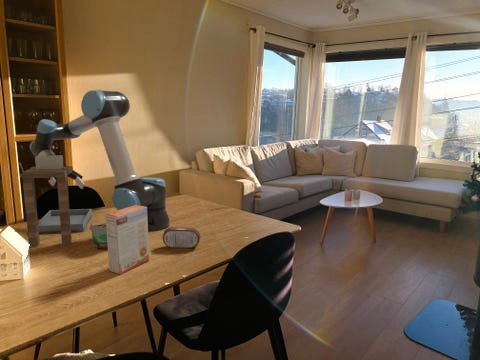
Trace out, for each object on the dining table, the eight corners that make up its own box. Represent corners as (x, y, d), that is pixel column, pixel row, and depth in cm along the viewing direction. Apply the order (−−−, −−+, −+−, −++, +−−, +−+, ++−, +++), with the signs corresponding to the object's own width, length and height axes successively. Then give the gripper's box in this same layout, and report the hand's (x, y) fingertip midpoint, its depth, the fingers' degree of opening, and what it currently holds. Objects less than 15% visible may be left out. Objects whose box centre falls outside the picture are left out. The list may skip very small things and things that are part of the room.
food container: (92, 253, 137) (90, 228, 135) (90, 247, 143) (89, 223, 141) (125, 248, 143) (124, 224, 141) (122, 243, 148) (121, 220, 146)
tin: (200, 246, 148) (200, 226, 146) (199, 249, 145) (199, 229, 143) (163, 245, 147) (163, 226, 145) (162, 248, 144) (161, 228, 142)
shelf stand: (69, 245, 145) (64, 172, 138) (28, 247, 141) (21, 172, 135) (77, 233, 158) (72, 166, 152) (39, 235, 154) (33, 166, 148)
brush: (60, 169, 144) (59, 156, 143) (36, 169, 142) (34, 157, 141) (69, 162, 160) (68, 151, 159) (47, 163, 158) (46, 151, 157)
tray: (83, 231, 160) (83, 223, 160) (35, 233, 156) (34, 225, 155) (92, 215, 183) (91, 208, 182) (50, 217, 178) (49, 210, 178)
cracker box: (137, 257, 135) (136, 203, 131) (149, 260, 132) (148, 206, 128) (107, 271, 123) (104, 213, 119) (119, 275, 121) (117, 216, 116)
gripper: (70, 171, 181) (90, 194, 170) (18, 163, 160) (37, 189, 149) (76, 158, 179) (97, 180, 169) (25, 149, 158) (44, 174, 148)
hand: (69, 185), depth 159 cm, fingers open, 13 cm apart
